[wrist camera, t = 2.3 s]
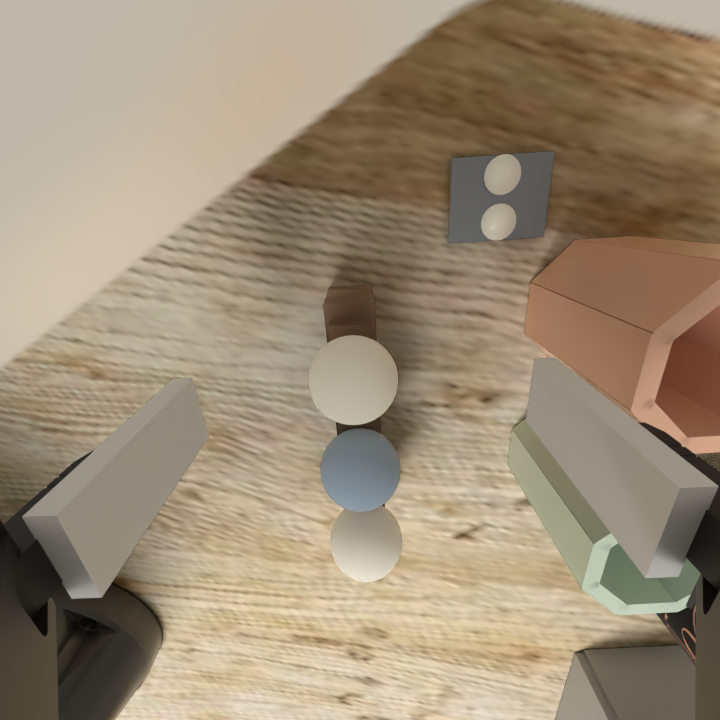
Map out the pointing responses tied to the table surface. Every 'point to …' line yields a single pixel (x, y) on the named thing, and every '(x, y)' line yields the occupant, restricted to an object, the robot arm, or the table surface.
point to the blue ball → (360, 470)
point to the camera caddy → (630, 685)
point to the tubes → (604, 355)
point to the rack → (351, 326)
